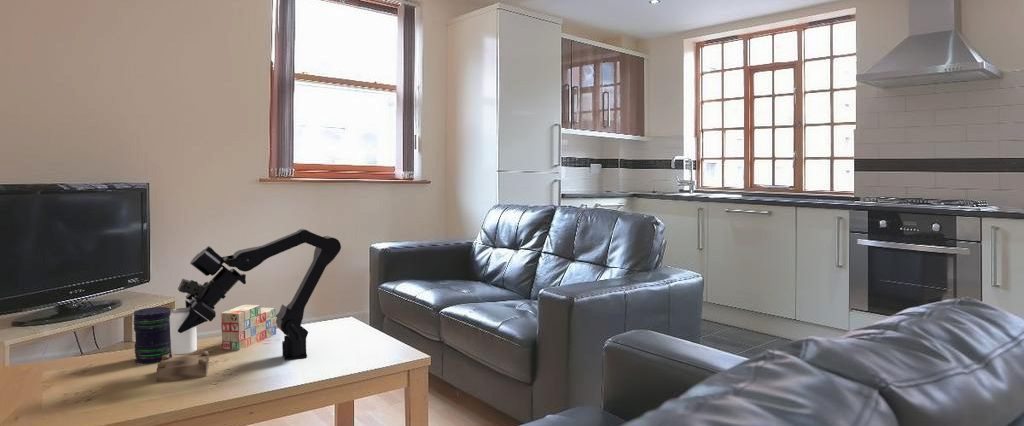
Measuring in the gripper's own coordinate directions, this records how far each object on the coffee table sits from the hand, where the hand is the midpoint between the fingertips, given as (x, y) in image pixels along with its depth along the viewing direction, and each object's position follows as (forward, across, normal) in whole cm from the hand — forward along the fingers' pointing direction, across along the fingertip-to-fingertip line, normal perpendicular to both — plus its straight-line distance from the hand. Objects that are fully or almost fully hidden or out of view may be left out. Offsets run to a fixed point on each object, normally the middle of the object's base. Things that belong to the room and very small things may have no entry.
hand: (177, 329), depth 174 cm
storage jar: (+13, -20, +5) cm, 24 cm away
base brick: (+8, 0, +10) cm, 13 cm away
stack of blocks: (-7, -25, +26) cm, 37 cm away
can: (+4, 0, +6) cm, 7 cm away
